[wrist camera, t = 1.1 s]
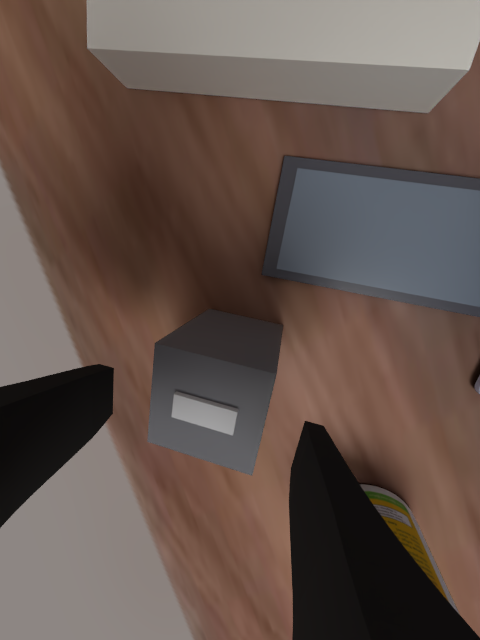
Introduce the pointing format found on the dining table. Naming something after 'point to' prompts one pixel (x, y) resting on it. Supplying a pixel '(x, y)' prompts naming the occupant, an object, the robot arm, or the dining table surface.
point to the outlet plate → (290, 48)
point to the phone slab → (378, 233)
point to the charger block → (214, 388)
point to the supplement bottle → (407, 533)
